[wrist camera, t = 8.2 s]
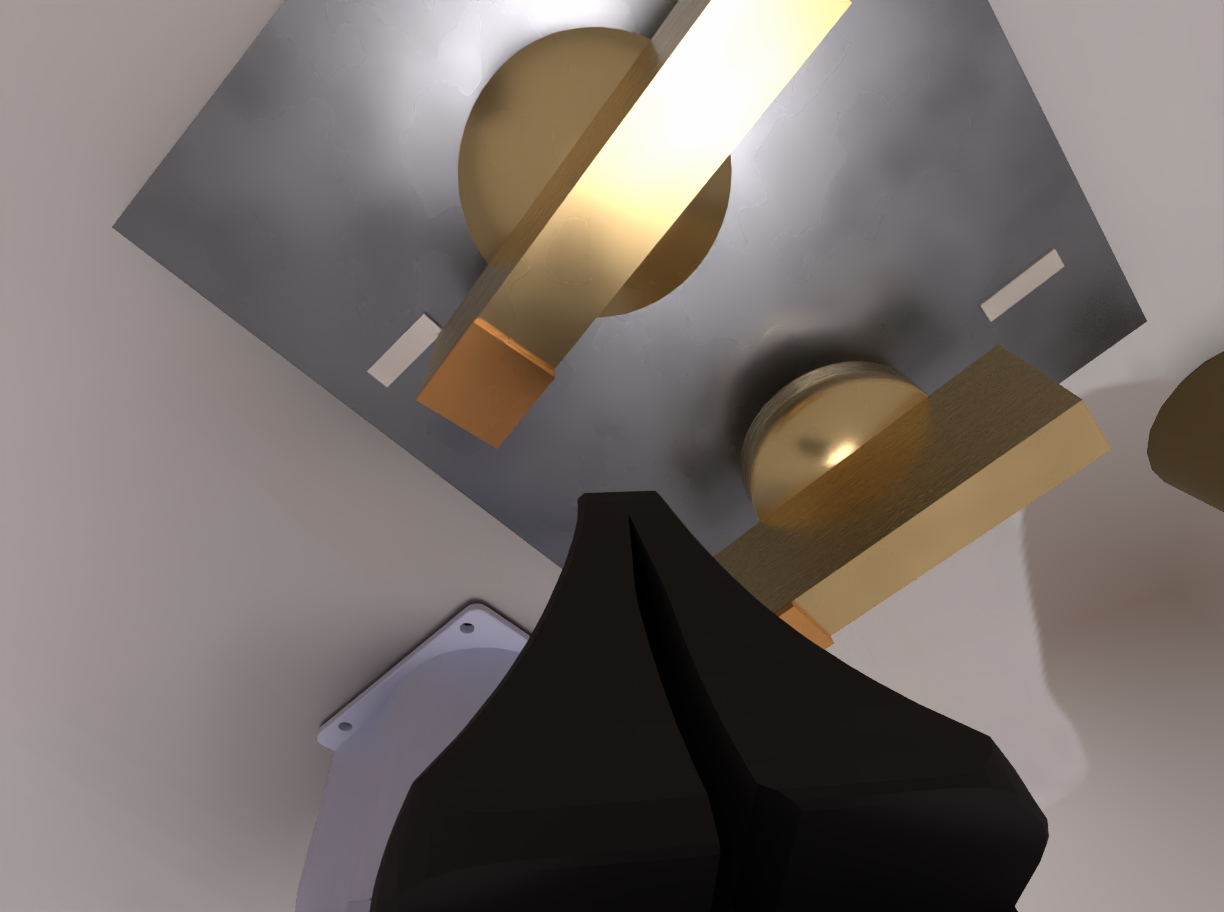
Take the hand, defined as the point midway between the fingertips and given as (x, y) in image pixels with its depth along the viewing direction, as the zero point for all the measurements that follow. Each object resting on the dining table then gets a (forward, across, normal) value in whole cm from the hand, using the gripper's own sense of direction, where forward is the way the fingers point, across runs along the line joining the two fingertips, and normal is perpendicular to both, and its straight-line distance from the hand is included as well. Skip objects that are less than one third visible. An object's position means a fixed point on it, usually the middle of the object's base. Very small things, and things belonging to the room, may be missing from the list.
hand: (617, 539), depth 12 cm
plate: (+10, -3, -2) cm, 11 cm away
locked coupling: (+8, -8, +3) cm, 12 cm away
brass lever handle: (+8, 0, -5) cm, 9 cm away
